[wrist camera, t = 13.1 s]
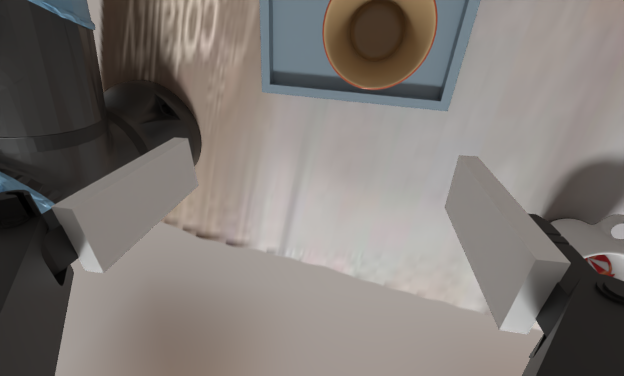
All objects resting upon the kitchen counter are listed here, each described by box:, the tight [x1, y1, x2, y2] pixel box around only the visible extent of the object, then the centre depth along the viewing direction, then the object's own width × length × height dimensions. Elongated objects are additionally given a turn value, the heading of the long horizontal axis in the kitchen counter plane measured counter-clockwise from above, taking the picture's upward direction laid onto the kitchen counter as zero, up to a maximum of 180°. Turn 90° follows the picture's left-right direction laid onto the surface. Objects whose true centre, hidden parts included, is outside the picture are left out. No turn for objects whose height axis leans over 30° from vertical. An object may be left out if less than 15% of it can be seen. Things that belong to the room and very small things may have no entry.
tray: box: [260, 0, 480, 111], centre depth 30 cm, size 22×18×2 cm
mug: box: [322, 0, 438, 90], centre depth 26 cm, size 12×9×10 cm
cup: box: [550, 214, 624, 281], centre depth 34 cm, size 11×8×8 cm
